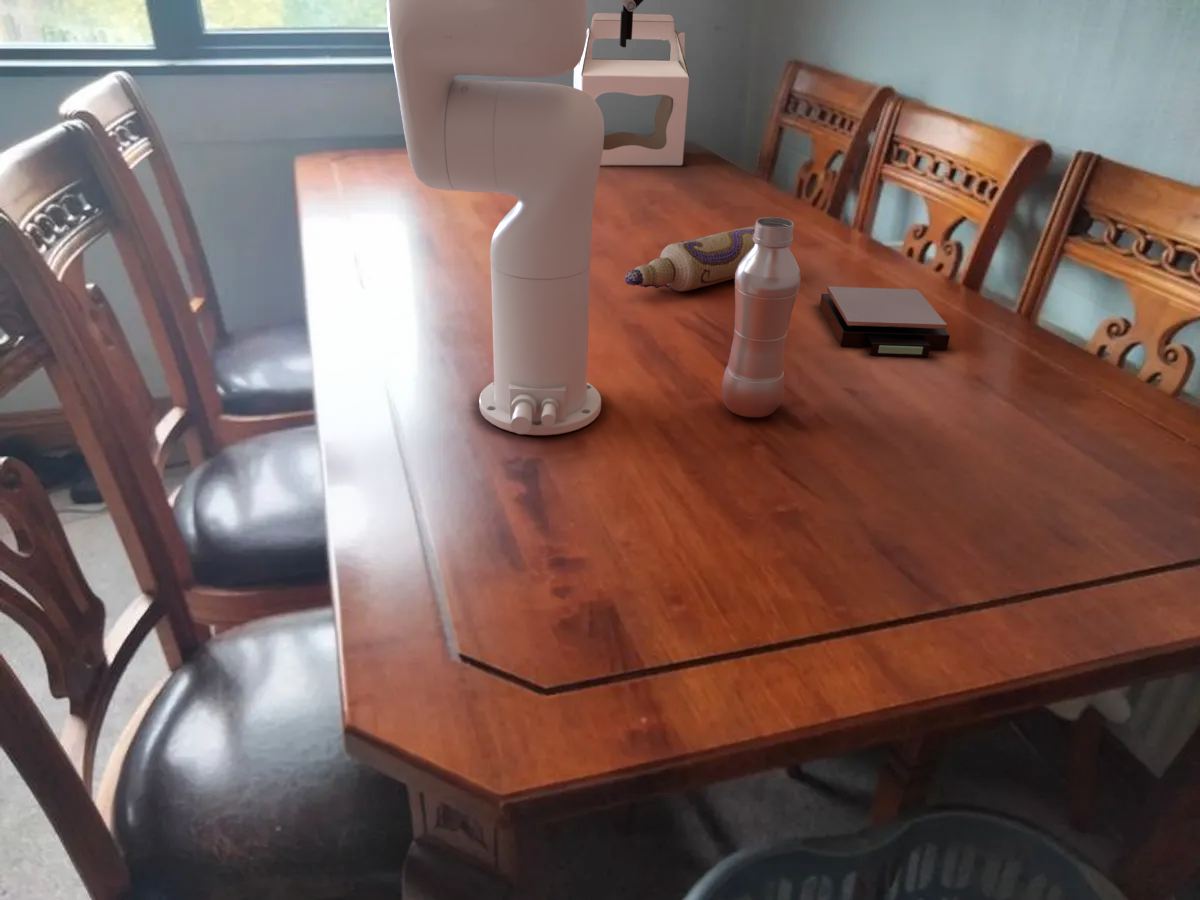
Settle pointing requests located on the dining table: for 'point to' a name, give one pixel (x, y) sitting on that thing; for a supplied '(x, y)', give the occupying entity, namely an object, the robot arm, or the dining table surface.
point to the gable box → (640, 89)
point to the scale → (884, 321)
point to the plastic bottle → (761, 320)
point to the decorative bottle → (696, 261)
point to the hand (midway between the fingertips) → (584, 44)
